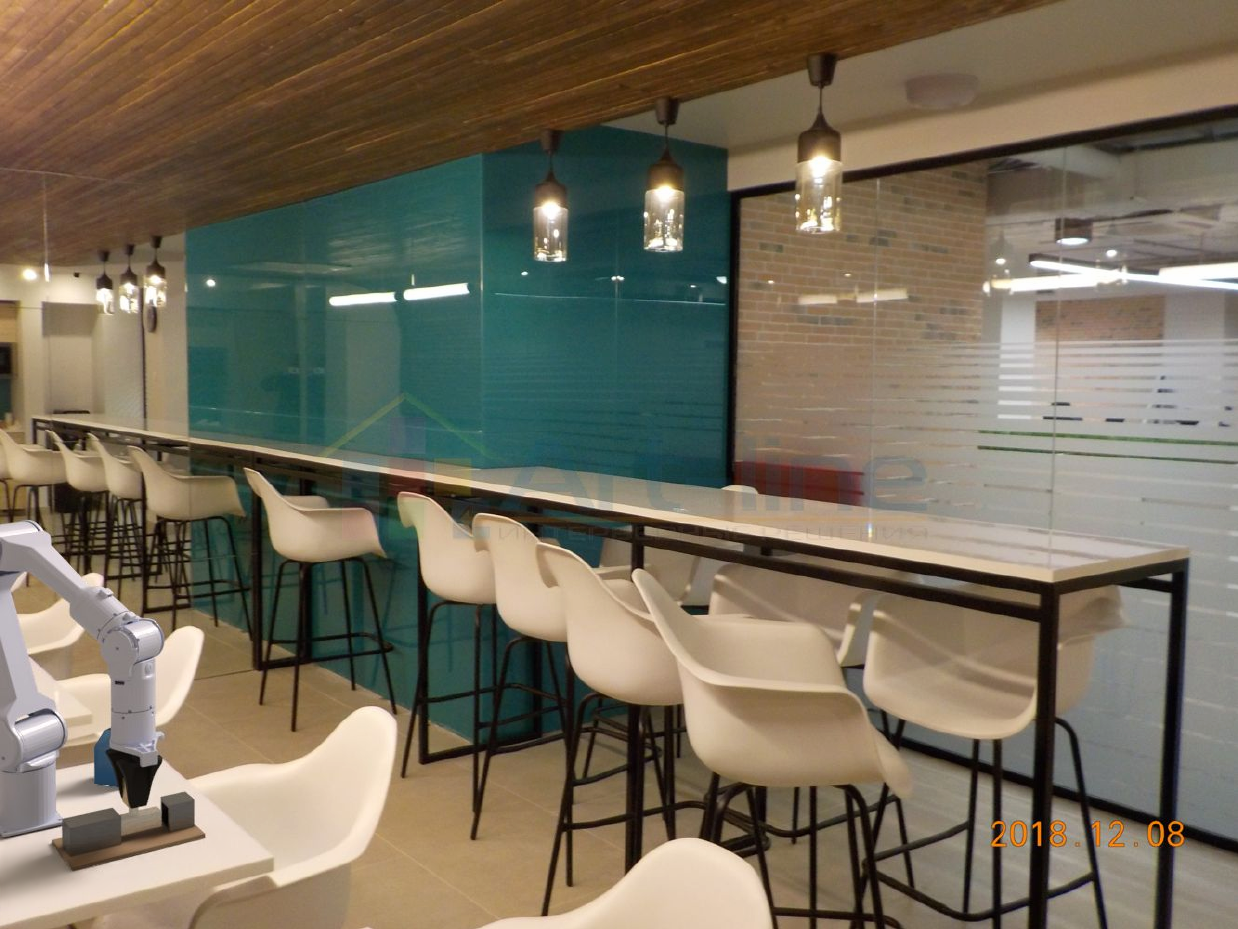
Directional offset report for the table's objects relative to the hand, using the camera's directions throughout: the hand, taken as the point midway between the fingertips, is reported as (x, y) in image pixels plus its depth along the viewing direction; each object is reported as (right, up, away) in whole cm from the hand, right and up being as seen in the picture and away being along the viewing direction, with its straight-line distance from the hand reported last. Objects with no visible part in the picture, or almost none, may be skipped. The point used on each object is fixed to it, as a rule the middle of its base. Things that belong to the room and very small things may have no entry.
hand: (133, 802), depth 148 cm
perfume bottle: (-12, -4, +23) cm, 26 cm away
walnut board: (-1, -5, 0) cm, 5 cm away
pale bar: (-1, -4, -1) cm, 4 cm away
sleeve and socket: (-1, -5, 0) cm, 5 cm away
